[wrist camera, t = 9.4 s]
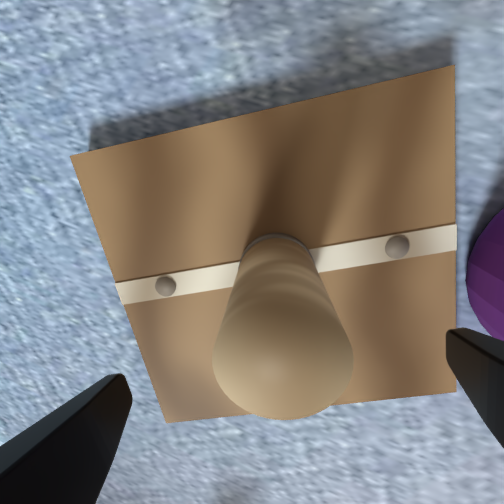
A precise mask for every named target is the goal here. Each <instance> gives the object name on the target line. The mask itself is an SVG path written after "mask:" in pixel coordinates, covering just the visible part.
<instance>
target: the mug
mask: <svg viewBox="0 0 504 504" xmlns="http://www.w3.org/2000/svg"><path fill="white" fill-rule="evenodd" d="M465 281H466V287H467V292H468V298H469V302H470V305H471V307H472V309H473V311H474V312H475V314H476V316H477V318H478V320H479V321H480V323H481V325H482V326H483V327H484V328H485V329H486V330H487V332H488V333H489V334H490V335H491V336H492V337H494V338H497V339H500V340H502V341H504V208H503V209H502V210H501V211H500V212H499V213H498V214H497V215H495V216H494V217H493V219H492V220H491V221H490V223H489V224H488V225H487V227H486V228H485V229H484V231H483V232H482V233H481V235H480V236H479V237H478V239H477V242H476V244H475V246H474V248H473V251H472V253H471V255H470V257H469V260H468V267H467V273H466V280H465Z"/></svg>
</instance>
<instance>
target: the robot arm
mask: <svg viewBox="0 0 504 504" xmlns="http://www.w3.org/2000/svg"><path fill="white" fill-rule="evenodd" d="M446 360H447V363H448V365H449V367H450V369H451V370H452V372H453V373H454V375H455V377H456V378H457V380H458V381H459V383H460V385H461V386H462V388H463V389H464V391H465V393H466V394H467V396H468V397H469V399H470V401H471V402H472V404H473V405H474V407H475V408H476V410H477V412H478V413H479V415H480V416H481V418H482V419H483V421H484V422H485V424H486V425H487V427H488V428H489V429H490V431H491V432H492V434H493V435H494V436H495V438H496V439H497V440H498V442H499V443H500V444H501V445H502V447H503V448H504V341H502V340H500V339H497V338H494V337H491V336H488V335H485V334H482V333H479V332H477V331H474V330H471V329H468V328H456V329H449V330H448V331H447V332H446ZM131 406H132V394H131V391H130V389H129V386H128V384H127V381H126V378H125V376H124V375H123V374H121V373H118V374H111V375H107V376H105V377H104V378H102V379H101V380H99V381H98V382H96V383H95V384H93V385H92V386H90V387H89V388H87V389H86V390H84V391H83V392H81V393H80V394H78V395H77V396H75V397H74V398H72V399H71V400H69V401H68V402H66V403H65V404H63V405H62V406H60V407H59V408H57V409H56V410H54V411H53V412H51V413H50V414H48V415H47V416H45V417H44V418H42V419H41V420H39V421H38V422H36V423H35V424H33V425H32V426H30V427H29V428H27V429H26V430H24V431H23V432H21V433H20V434H18V435H17V436H15V437H14V438H12V439H11V440H9V441H8V442H6V443H5V444H3V445H2V446H0V504H95V503H96V501H97V498H98V496H99V494H100V491H101V489H102V487H103V484H104V482H105V479H106V477H107V475H108V472H109V470H110V467H111V465H112V462H113V460H114V457H115V454H116V451H117V448H118V445H119V442H120V439H121V436H122V433H123V430H124V427H125V424H126V421H127V418H128V415H129V412H130V409H131Z"/></svg>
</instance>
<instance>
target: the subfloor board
mask: <svg viewBox="0 0 504 504" xmlns="http://www.w3.org/2000/svg"><path fill="white" fill-rule="evenodd" d="M70 158H71V161H72V164H73V166H74V169H75V172H76V175H77V177H78V180H79V183H80V186H81V189H82V191H83V194H84V197H85V200H86V202H87V205H88V208H89V211H90V213H91V216H92V219H93V222H94V225H95V227H96V230H97V233H98V236H99V238H100V241H101V244H102V247H103V249H104V252H105V255H106V258H107V260H108V263H109V266H110V269H111V272H112V274H113V277H114V280H115V286H116V288H117V291H118V294H119V297H120V300H121V302H122V305H124V307H125V310H126V313H127V316H128V319H129V321H130V324H131V327H132V330H133V332H134V335H135V338H136V341H137V343H138V346H139V349H140V352H141V355H142V357H143V360H144V363H145V366H146V368H147V371H148V374H149V377H150V379H151V382H152V385H153V388H154V390H155V393H156V396H157V399H158V402H159V404H160V407H161V410H162V413H163V415H164V418H165V421H166V423H173V422H182V421H191V420H200V419H210V418H219V417H228V416H238V415H247V414H252V413H250V412H248V411H246V410H244V409H242V408H241V407H239V406H238V405H236V404H235V403H234V402H233V401H232V400H230V399H229V397H228V396H227V395H226V394H225V393H224V392H223V390H222V389H221V387H220V386H219V384H218V382H217V380H216V377H215V374H214V371H213V366H212V354H213V348H214V344H215V341H216V337H217V334H218V331H219V328H220V325H221V322H222V319H223V316H224V313H225V310H226V306H227V303H228V300H229V297H230V294H231V291H232V288H233V285H234V282H235V278H236V275H237V272H238V267H239V263H240V260H241V257H242V254H243V252H244V250H245V249H246V247H247V246H248V245H249V244H250V243H251V242H252V241H253V240H255V239H256V238H258V237H260V236H262V235H265V234H269V233H285V234H289V235H291V236H294V237H296V238H297V239H299V240H300V241H301V242H303V243H304V245H305V246H306V247H307V248H308V250H309V252H310V253H311V255H312V258H313V260H314V263H315V266H316V269H317V271H318V273H319V275H320V277H321V280H322V282H323V284H324V286H325V288H326V291H327V293H328V295H329V297H330V299H331V302H332V304H333V306H334V308H335V310H336V312H337V315H338V317H339V319H340V321H341V323H342V326H343V328H344V330H345V332H346V334H347V337H348V339H349V341H350V344H351V347H352V351H353V358H354V365H353V372H352V376H351V379H350V381H349V384H348V386H347V388H346V389H345V391H344V392H343V393H342V395H341V396H340V397H339V398H338V399H337V400H336V401H335V402H334V403H333V404H332V405H340V404H349V403H358V402H368V401H377V400H386V399H396V398H405V397H414V396H424V395H433V394H442V393H451V392H456V377H455V375H454V373H453V372H452V370H451V369H450V367H449V365H448V363H447V360H446V332H447V331H448V330H449V329H456V250H457V224H455V65H451V66H447V67H443V68H438V69H434V70H430V71H426V72H422V73H417V74H413V75H409V76H405V77H400V78H396V79H392V80H388V81H384V82H379V83H375V84H371V85H367V86H363V87H358V88H354V89H350V90H346V91H342V92H337V93H333V94H329V95H325V96H320V97H316V98H312V99H308V100H304V101H299V102H295V103H291V104H287V105H283V106H278V107H274V108H270V109H266V110H262V111H257V112H253V113H249V114H245V115H240V116H236V117H232V118H228V119H224V120H219V121H215V122H211V123H207V124H203V125H198V126H194V127H190V128H186V129H182V130H177V131H173V132H169V133H165V134H160V135H156V136H152V137H148V138H144V139H139V140H135V141H131V142H127V143H123V144H118V145H114V146H110V147H106V148H101V149H97V150H93V151H89V152H85V153H80V154H76V155H72V156H70ZM330 406H331V405H330Z"/></svg>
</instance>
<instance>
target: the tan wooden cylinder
mask: <svg viewBox="0 0 504 504" xmlns="http://www.w3.org/2000/svg"><path fill="white" fill-rule="evenodd" d="M353 365H354V358H353V351H352V347H351V344H350V341H349V339H348V337H347V334H346V332H345V330H344V328H343V326H342V323H341V321H340V319H339V317H338V315H337V312H336V310H335V308H334V306H333V304H332V302H331V299H330V297H329V295H328V293H327V291H326V288H325V286H324V284H323V282H322V280H321V277H320V275H319V273H318V271H317V269H316V266H315V263H314V260H313V258H312V255H311V253H310V252H309V250H308V248H307V247H306V246H305V245H304V243H303V242H301V241H300V240H299V239H297V238H296V237H294V236H291V235H289V234H285V233H269V234H265V235H262V236H260V237H258V238H256V239H255V240H253V241H252V242H251V243H250V244H249V245H248V246H247V247H246V249H245V250H244V252H243V254H242V257H241V260H240V263H239V267H238V272H237V275H236V278H235V282H234V285H233V288H232V291H231V294H230V297H229V300H228V303H227V306H226V310H225V313H224V316H223V319H222V322H221V325H220V328H219V331H218V334H217V337H216V341H215V344H214V348H213V354H212V366H213V371H214V374H215V377H216V380H217V382H218V384H219V386H220V387H221V389H222V390H223V392H224V393H225V394H226V395H227V396H228V397H229V399H230V400H232V401H233V402H234V403H235V404H236V405H238V406H239V407H241V408H242V409H244V410H246V411H248V412H250V413H252V414H255V415H257V416H261V417H264V418H269V419H275V420H293V419H300V418H304V417H308V416H311V415H314V414H316V413H318V412H320V411H322V410H324V409H326V408H327V407H329V406H330V405H332V404H333V403H334V402H335V401H336V400H337V399H338V398H339V397H340V396H341V395H342V393H343V392H344V391H345V389H346V388H347V386H348V384H349V381H350V379H351V376H352V372H353Z"/></svg>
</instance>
